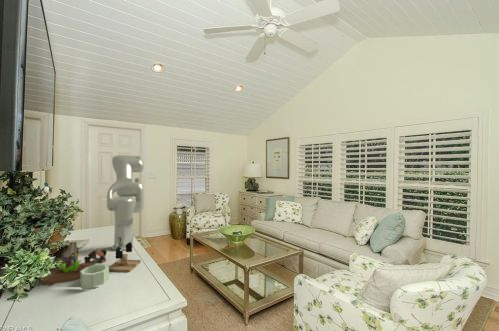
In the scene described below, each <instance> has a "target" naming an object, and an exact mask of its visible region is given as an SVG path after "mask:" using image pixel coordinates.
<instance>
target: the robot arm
mask: <svg viewBox="0 0 499 331" xmlns="http://www.w3.org/2000/svg"><path fill="white" fill-rule="evenodd" d="M111 162H112V168H113V170H114V172H115V176H116V181H115V182H113V183H112V184H111V186H109V189H108V190H107V194H106V208H107V210H108V211H111V212H113V213H114V234H113V235H114V238H113V239H114V240H113V241H114V243H113V245H111V250H113V251H115V259H116V260H121V259H122V258H123V254H124V252H123V251H125V252H126V253H132V252H133V247H134V243H133V241H134V233H133V232H134V231H133V224H134V223H133V222H134V221H133V220H134V214H139V213H142V212H143V209H144V186H143V183H142V182H139V181H136V182H135V181H134V179H133V178H134V177H133V176H134V173H141V172H143V170H144V160H143V158H142V156H140V155H126V154H125V155H114V156H113V157H112V160H111ZM133 181H134V182H133ZM115 192H116V195H117V196H114V194H115Z"/></svg>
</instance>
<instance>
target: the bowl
mask: <svg viewBox="0 0 499 331" xmlns="http://www.w3.org/2000/svg"><path fill="white" fill-rule="evenodd" d="M109 278H110V272H109V266H108V264H94V265H93V266H89V267H86V268H84V269H83V270H81V271H80V279H79V285H81V286H80V287H81V289H82V290H95V289H97V288H99V286H101V285H104V284H105V283H106V282H108V281H109Z"/></svg>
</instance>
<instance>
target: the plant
mask: <svg viewBox="0 0 499 331" xmlns="http://www.w3.org/2000/svg"><path fill="white" fill-rule="evenodd" d="M73 255H74V257H78V255H79V254H78V253H77V252H72V253H71V254H70V255H69V258H67V257H66V256H59V257H58V258H57V260H58V261H61V260H62V259H64V260H63V261H61V262H60V263H59V265H58V266H57V265H56V267H59V268H60V269H61V270H59V269H58V270H54V268H52V269H53V270H52V269H51V270H52V271H51V275H49V276H47V277H45V278H43V279H42V283H41V285H42V286H45V285H46V284H48V286H51V285H52V286H53V285H55V284H58V283H67V282H74V281H77V280H80V271H81V270H83V269H84V268H86V267H89V266H93V265H95V264H93V263H90V262H89V263H85V262H83V263H82V259H81V260H77V261H76V262H75V261H74V260H72V258H73ZM46 286H47V285H46Z"/></svg>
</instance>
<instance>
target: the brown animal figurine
mask: <svg viewBox="0 0 499 331" xmlns="http://www.w3.org/2000/svg"><path fill="white" fill-rule="evenodd" d="M97 256H98V257H99V259H100V260H101V261H100V263H101V264H104V263H105V262H106V261H107V260H106V256H107V250H106V249H104V248H102V249H100V250H98V249H95V250H93V251H91V252H90V253H88V254H87V255H86V256H84V258H83V260H84V263H89V264H90V263H91V259H92V260H97V259H98V258H97Z"/></svg>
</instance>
